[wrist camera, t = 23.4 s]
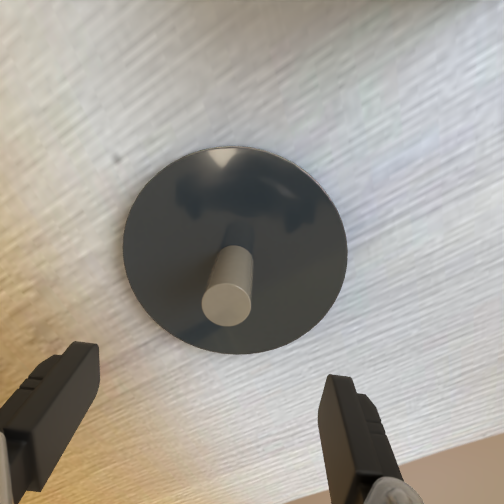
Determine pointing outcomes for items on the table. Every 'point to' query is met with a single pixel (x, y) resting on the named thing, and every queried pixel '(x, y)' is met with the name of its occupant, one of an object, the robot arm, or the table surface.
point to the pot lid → (235, 250)
